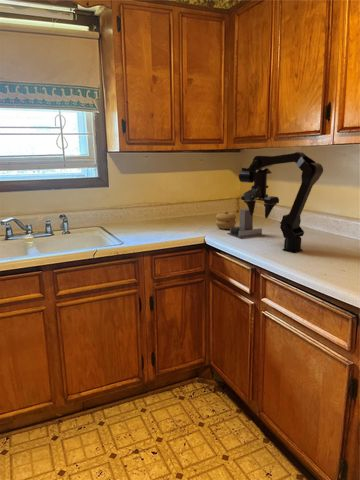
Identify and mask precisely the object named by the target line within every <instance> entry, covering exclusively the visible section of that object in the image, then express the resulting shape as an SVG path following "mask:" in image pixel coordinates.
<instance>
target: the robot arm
mask: <svg viewBox="0 0 360 480" xmlns="http://www.w3.org/2000/svg"><path fill="white" fill-rule="evenodd" d="M288 163H289V164H291V163H296V165H297V167H298V168H299V170H300V171H302V172H301V184H300V186H299V188H298V192H297V194H296V196H295V199H294V201H293V203H292V206H291V209H290V211H289V213H288V214H284V215H282V218H281V222H279V228H280V230H281V232H282V236H283V238H284V240H283V241H284V243H283V248H282V249H281V250H282V251H284V252H285V251H286V252H289V253H293V254H295V253H299V252H303V251H304V250H303V249H302V237H303V236H304V234H305V231H304V229H303V228H302V227H301V222H302V221H301V215H302V213H303V210H304V207H305V205H306V203H307V200H308V198H309V196H310V193H311V191H312V189H313V187H314V185H315V184H316V183H317V182H318V181H319V179H320V177H321V176H322V175H323V172H324V167H323V165H322V164H321V163H319V162H316V161H315V160H313V159H312V158H310V157H309V156H307V155H306V154H305V153H304V152H303V151H302V152H301V151H296V152H293V153H286V154H279V155H255V156H254V158H253V159H252V162H251V163H250V165H249V166H248V167H242V168H241V170H240V171H239V175H238V180H239V182H241V183H247V184H248V183H249V184H251V183H252V184H253V185H251V189H248V190H247V191H245V192H244V193H242V195H241V201H243V202H244V203H245V205H247V207H248V208H247V209H249V212H250V215H251V216H252V215H253V216H254V213H255V212H254V211H255V207H256V201H261V202H264V203H263V204H262V205H263V206H264V218H265V219H268V218H269V215H270V213H271V212H272V210H273V208H274V207H275V206H276V205H277V204H279V203H280V199H279V197H278V196H273V195H272V196H269V194H267V189H269V185H267V182H268V175H271V174H272V171H271V170H270V169H269V168H270V167H272V166H275V165H281V164H288Z"/></svg>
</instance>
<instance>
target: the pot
mask: <svg viewBox="0 0 360 480" xmlns="http://www.w3.org/2000/svg"><path fill="white" fill-rule="evenodd" d="M215 219H216V220H215V225H216V227H217V228H219V229H222V230H230V228H235V227H236V225H237V221H236V220H237V216H236V214H235V213H234V212H228V211H227V210H225V211H224V212H223V211H221V212H218V213H217V214H216V215H215Z"/></svg>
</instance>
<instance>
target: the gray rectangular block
mask: <svg viewBox="0 0 360 480" xmlns="http://www.w3.org/2000/svg"><path fill="white" fill-rule="evenodd" d="M253 217H254V214H253V215H252V216H251V215H250V212H249V208H239V227H240V228H239V231H242V230H251V229H252V226H253V222H254V218H253Z"/></svg>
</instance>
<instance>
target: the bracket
mask: <svg viewBox="0 0 360 480" xmlns="http://www.w3.org/2000/svg"><path fill="white" fill-rule="evenodd" d="M239 228H240V226H234V227H233V228H230V229H229V232H227V235H229V236H232V237H235V238H237V239H241V240H244V239H250V238H258V237H265V236H266V235H265V234H264V233H263V229H262V227H261V228H254V226H253V225H252V229H251V230H242V231H239Z"/></svg>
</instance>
